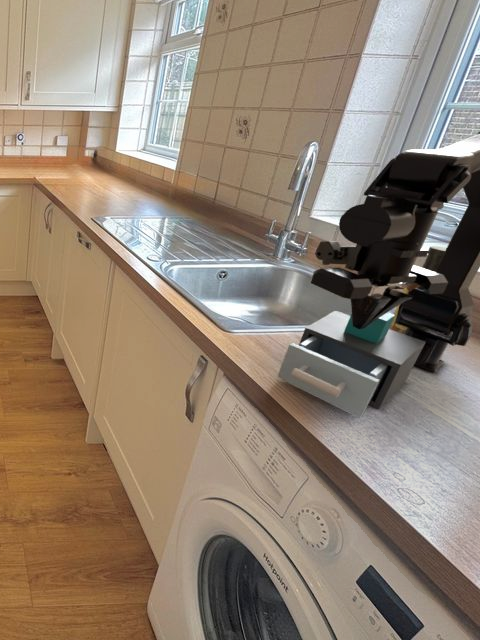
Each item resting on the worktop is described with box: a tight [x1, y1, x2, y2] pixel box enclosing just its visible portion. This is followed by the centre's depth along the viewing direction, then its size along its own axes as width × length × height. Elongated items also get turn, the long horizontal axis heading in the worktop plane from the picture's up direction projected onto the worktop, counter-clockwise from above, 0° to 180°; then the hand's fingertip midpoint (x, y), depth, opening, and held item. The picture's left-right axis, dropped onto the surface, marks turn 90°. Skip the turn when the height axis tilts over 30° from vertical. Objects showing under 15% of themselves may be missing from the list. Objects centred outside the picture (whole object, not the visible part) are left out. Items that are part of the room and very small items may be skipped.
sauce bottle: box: [389, 245, 447, 334], centre depth 86 cm, size 7×6×20 cm
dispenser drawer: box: [276, 335, 392, 419], centre depth 68 cm, size 17×11×7 cm
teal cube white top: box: [344, 312, 395, 344], centre depth 71 cm, size 4×4×4 cm
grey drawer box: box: [298, 310, 425, 410], centre depth 73 cm, size 14×13×9 cm
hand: (357, 327), depth 67 cm, fingers closed
